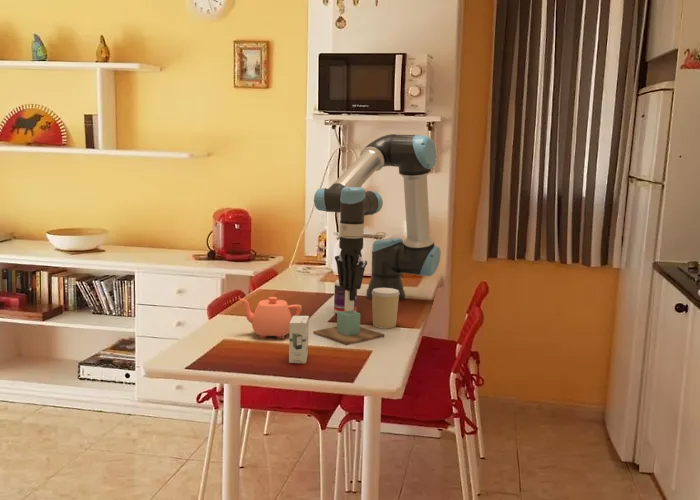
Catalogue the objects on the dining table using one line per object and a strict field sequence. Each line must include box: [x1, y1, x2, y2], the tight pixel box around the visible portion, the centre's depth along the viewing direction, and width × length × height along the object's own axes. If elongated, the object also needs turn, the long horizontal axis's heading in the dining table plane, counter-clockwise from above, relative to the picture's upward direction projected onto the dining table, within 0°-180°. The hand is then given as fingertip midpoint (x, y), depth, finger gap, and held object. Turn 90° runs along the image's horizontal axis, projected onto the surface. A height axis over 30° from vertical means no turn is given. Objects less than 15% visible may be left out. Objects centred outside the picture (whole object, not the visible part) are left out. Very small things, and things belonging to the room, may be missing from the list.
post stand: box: [312, 325, 385, 346], centre depth 241 cm, size 16×16×6 cm
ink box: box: [288, 315, 310, 364], centre depth 215 cm, size 9×5×12 cm, turn 178°
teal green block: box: [336, 310, 361, 336], centre depth 241 cm, size 5×5×7 cm
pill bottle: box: [333, 278, 358, 314], centre depth 268 cm, size 8×8×14 cm
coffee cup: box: [371, 288, 400, 329], centre depth 254 cm, size 9×9×12 cm
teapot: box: [238, 296, 303, 340], centre depth 238 cm, size 13×20×12 cm, turn 91°
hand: (349, 309), depth 240 cm, fingers closed
